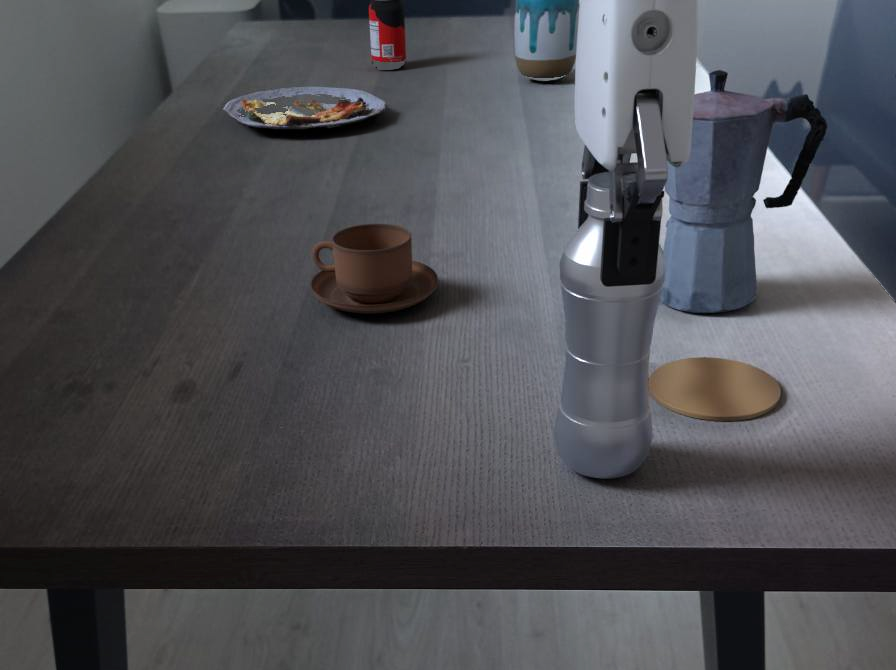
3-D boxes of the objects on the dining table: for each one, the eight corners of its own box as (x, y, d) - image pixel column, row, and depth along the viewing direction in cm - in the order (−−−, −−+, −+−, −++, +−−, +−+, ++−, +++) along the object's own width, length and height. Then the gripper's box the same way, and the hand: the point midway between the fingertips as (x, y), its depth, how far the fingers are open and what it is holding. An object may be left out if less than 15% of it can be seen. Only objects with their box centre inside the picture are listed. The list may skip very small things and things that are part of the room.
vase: (537, 90, 170) (540, -39, 160) (501, 79, 178) (502, -45, 168) (589, 81, 175) (595, -46, 164) (552, 71, 182) (556, -51, 172)
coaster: (755, 358, 85) (756, 353, 85) (799, 417, 77) (800, 412, 77) (635, 365, 85) (635, 360, 85) (666, 425, 77) (667, 420, 77)
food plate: (409, 126, 154) (408, 101, 152) (260, 150, 146) (257, 124, 144) (344, 94, 173) (343, 72, 171) (209, 114, 165) (206, 91, 163)
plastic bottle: (635, 499, 69) (662, 202, 58) (538, 478, 71) (547, 190, 60) (659, 452, 74) (689, 170, 63) (568, 434, 76) (581, 160, 65)
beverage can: (406, 71, 187) (403, -2, 181) (371, 72, 187) (367, 0, 181) (406, 64, 193) (403, -7, 186) (372, 65, 193) (368, -6, 186)
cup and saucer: (307, 327, 94) (301, 262, 91) (317, 277, 104) (312, 217, 101) (439, 322, 94) (437, 257, 90) (437, 273, 104) (435, 213, 101)
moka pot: (626, 274, 102) (643, 58, 91) (790, 281, 99) (828, 59, 88) (622, 313, 94) (640, 82, 83) (801, 322, 91) (843, 83, 80)
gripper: (762, -48, 48) (715, 314, 57) (664, -79, 62) (640, 214, 72) (599, -40, 47) (580, 322, 57) (540, -73, 62) (533, 220, 72)
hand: (614, 259), depth 64 cm, fingers closed on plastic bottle, 6 cm apart
